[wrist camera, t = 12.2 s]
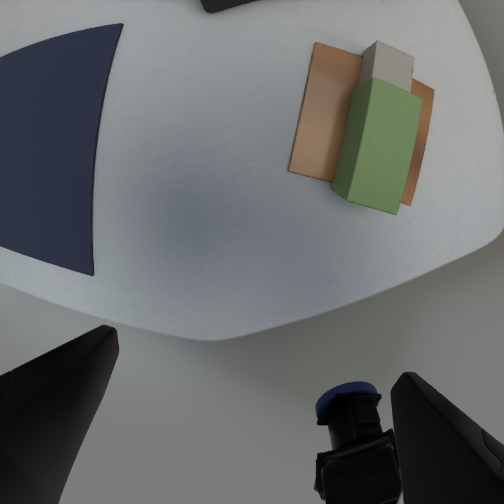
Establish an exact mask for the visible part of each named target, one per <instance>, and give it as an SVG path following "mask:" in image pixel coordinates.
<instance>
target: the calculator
mask: <svg viewBox="0 0 504 504" xmlns="http://www.w3.org/2000/svg"><path fill="white" fill-rule="evenodd" d="M200 1H201V3H202V5H203V7H204V9H205V10H206V11H207V12H215V11H219V10H222V9H225V8H229V7H232V6H236V5H239V4H243V3H247V2H251V1H256V0H200Z"/></svg>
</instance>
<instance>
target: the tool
mask: <svg viewBox="0 0 504 504" xmlns="http://www.w3.org/2000/svg"><path fill="white" fill-rule="evenodd" d="M413 66H414V57H412V56H410V55H408V54H406V53H404V52H402V51H400V50H398V49H395V48H393V47H391V46H389V45H386V44H384V43H382V42H379V41H376V42H375V43H373V44H372V45H371V46H370V47H368V48H367V49H366V50H365V51H364V53H363V60H362V66H361V72H360V78H359V84H358V86H356V87H355V88H353V93H352V98H351V103H350V108H349V113H348V118H347V123H346V128H345V133H344V137H343V142H342V146H341V151H340V155H339V159H338V164H337V168H336V172H335V176H334V180H333V184H332V188H331V190H332V191H333V192H335V193H336V194H338V195H339V196H341V197H342V198H343V199H345V200H346V201H348V202H352V203H355V204H359V205H362V206H366V207H370V208H373V209H377V210H380V211H383V212H387V213H390V214H393V215H397V212H398V209H399V205H400V202H401V198H402V195H403V191H404V188H405V184H406V180H407V176H408V172H409V168H410V164H411V159H412V155H413V150H414V145H415V140H416V135H417V130H418V125H419V119H420V113H421V106H422V98H420V97H418V96H416V95H413V94H411V93H410V91H411V84H412V75H413Z"/></svg>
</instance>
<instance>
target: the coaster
mask: <svg viewBox="0 0 504 504" xmlns="http://www.w3.org/2000/svg"><path fill="white" fill-rule="evenodd" d="M362 60H363V57H361V56H358V55H355V54H352V53H350V52H347V51H344V50H340V49H337V48H334V47H331V46H327V45H324V44H320V43H316V42H315V45H314V50H313V55H312V60H311V65H310V70H309V75H308V80H307V85H306V89H305V94H304V99H303V104H302V109H301V113H300V118H299V123H298V127H297V132H296V137H295V141H294V146H293V150H292V155H291V160H290V164H289V169H288V171H289V172H293V173H297V174H301V175H305V176H310V177H314V178H318V179H322V180H326V181H329V182H333V180H334V176H335V172H336V168H337V164H338V159H339V155H340V151H341V146H342V142H343V137H344V133H345V128H346V123H347V118H348V113H349V108H350V103H351V98H352V93H353V88H355V87H356V86H358V84H359V78H360V72H361V66H362ZM410 93H411V94H413V95H416V96H418V97H420V98H422V106H421V113H420V119H419V125H418V130H417V135H416V140H415V145H414V150H413V155H412V159H411V164H410V168H409V172H408V176H407V180H406V184H405V188H404V191H403V195H402V198H401V202H400V203H403V204H406V205H409V206H411V202H412V199H413V195H414V192H415V188H416V184H417V180H418V176H419V172H420V168H421V164H422V160H423V155H424V150H425V145H426V140H427V135H428V130H429V124H430V118H431V111H432V104H433V97H434V89H432V88H430V87H428V86H426V85H424V84H422V83H421V82H419V81H417V80H415V79H413V78H412V84H411V91H410Z"/></svg>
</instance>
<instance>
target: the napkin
mask: <svg viewBox="0 0 504 504" xmlns="http://www.w3.org/2000/svg"><path fill="white" fill-rule="evenodd" d="M122 27H123V24H122V23H119V24H112V25H106V26H100V27H95V28H90V29H85V30H81V31H76V32H72V33H68V34H64V35H61V36H57V37H54V38H50V39H47V40H44V41H41V42H38V43H35V44H32V45H29V46H27V47H24V48H21V49H19V50H16V51H14V52H11V53H9V54H7V55H4V56H2V57H0V246H1V247H4V248H7V249H9V250H12V251H15V252H18V253H21V254H23V255H26V256H29V257H32V258H35V259H38V260H41V261H44V262H47V263H50V264H54V265H57V266H60V267H63V268H66V269H70V270H73V271H76V272H80V273H83V274H86V275H90V276H93V275H94V266H93V245H92V200H93V179H94V166H95V155H96V146H97V137H98V130H99V123H100V117H101V111H102V105H103V100H104V95H105V90H106V85H107V81H108V76H109V72H110V68H111V64H112V60H113V56H114V53H115V49H116V46H117V42H118V39H119V36H120V33H121V30H122Z"/></svg>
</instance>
